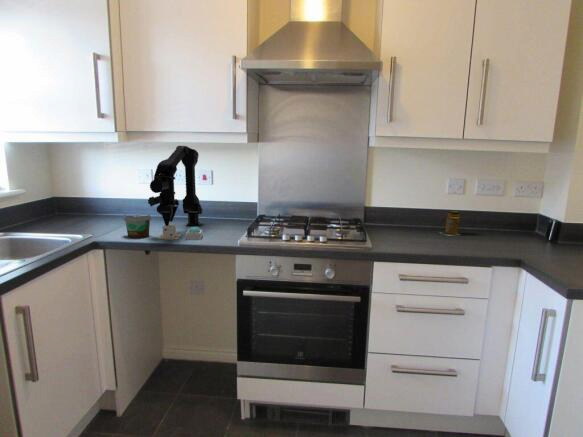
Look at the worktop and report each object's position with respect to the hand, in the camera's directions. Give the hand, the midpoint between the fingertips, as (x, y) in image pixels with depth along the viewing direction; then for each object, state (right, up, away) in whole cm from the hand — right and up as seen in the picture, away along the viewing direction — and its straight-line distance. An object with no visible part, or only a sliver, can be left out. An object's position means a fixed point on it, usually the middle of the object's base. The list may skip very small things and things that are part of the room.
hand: (169, 223), depth 171 cm
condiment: (+139, -6, +22) cm, 141 cm away
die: (0, -6, +1) cm, 6 cm away
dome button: (+12, -6, +1) cm, 13 cm away
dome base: (+11, -7, +1) cm, 13 cm away
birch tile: (0, -6, +1) cm, 6 cm away
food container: (-15, -6, 0) cm, 16 cm away
